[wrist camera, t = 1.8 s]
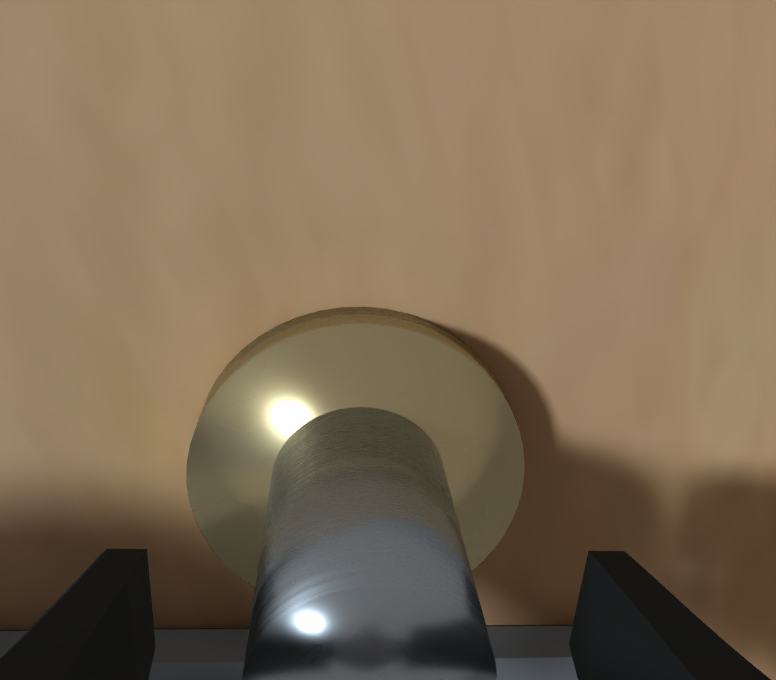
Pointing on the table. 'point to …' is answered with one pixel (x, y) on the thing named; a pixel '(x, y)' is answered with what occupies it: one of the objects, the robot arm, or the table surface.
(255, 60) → the table surface
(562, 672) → the carrier
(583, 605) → the robot arm
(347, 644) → the flanged metal cylinder
